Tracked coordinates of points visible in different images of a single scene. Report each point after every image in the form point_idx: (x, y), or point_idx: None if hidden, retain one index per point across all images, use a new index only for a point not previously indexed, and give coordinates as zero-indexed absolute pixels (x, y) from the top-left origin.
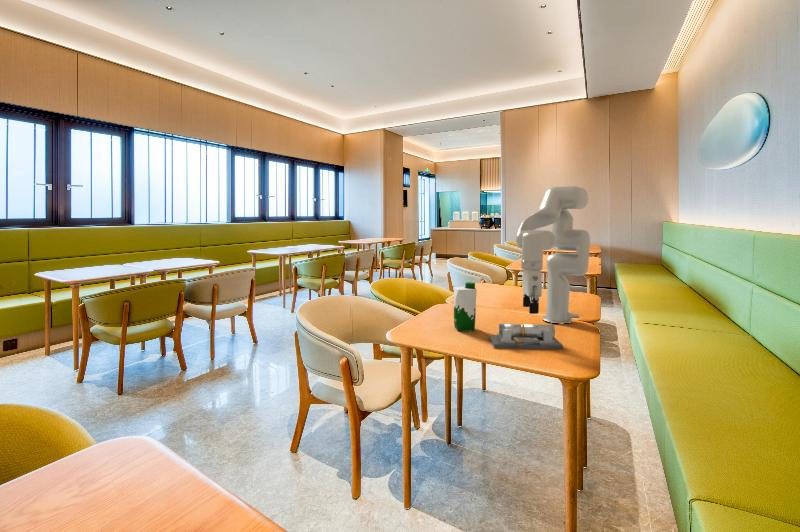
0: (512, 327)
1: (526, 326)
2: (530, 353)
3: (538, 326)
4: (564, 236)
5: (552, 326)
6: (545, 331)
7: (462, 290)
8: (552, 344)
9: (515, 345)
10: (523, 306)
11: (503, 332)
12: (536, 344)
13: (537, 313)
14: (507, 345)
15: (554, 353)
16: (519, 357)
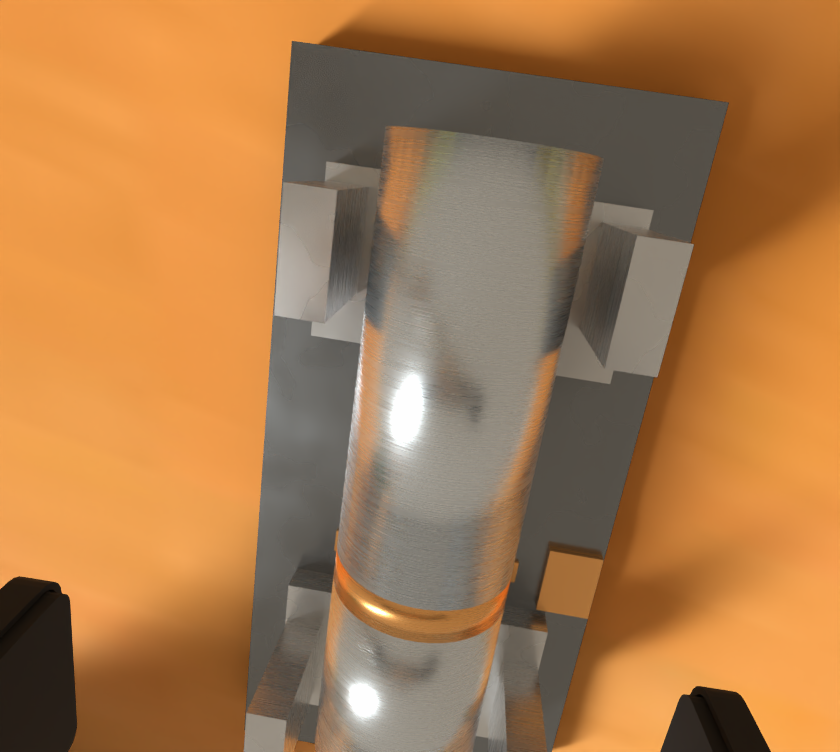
0: (458, 735)
1: (473, 582)
2: (744, 521)
3: (502, 418)
4: None
5: (542, 177)
6: (659, 360)
7: None
8: (650, 228)
9: (584, 618)
10: (60, 740)
11: None
12: (614, 418)
13: (732, 705)
14: (567, 680)
15: (807, 279)
16: (825, 654)
